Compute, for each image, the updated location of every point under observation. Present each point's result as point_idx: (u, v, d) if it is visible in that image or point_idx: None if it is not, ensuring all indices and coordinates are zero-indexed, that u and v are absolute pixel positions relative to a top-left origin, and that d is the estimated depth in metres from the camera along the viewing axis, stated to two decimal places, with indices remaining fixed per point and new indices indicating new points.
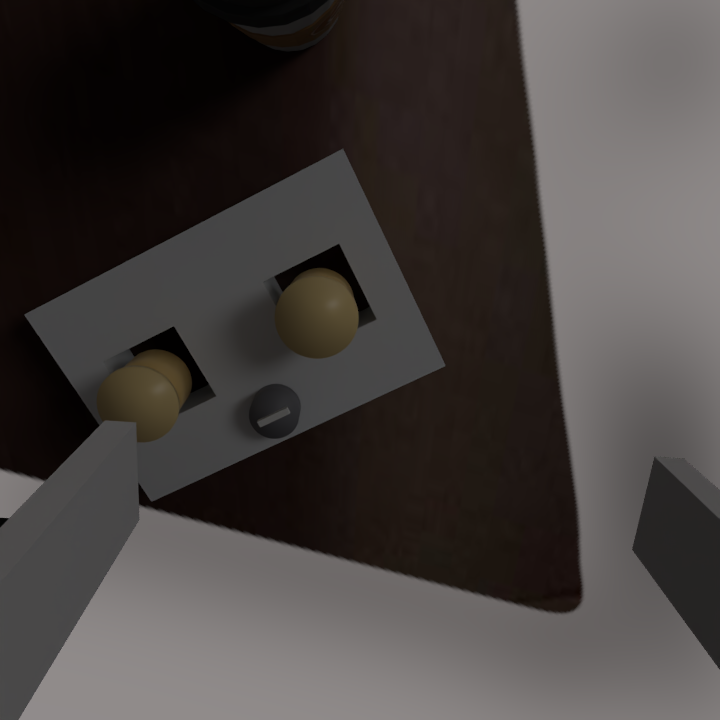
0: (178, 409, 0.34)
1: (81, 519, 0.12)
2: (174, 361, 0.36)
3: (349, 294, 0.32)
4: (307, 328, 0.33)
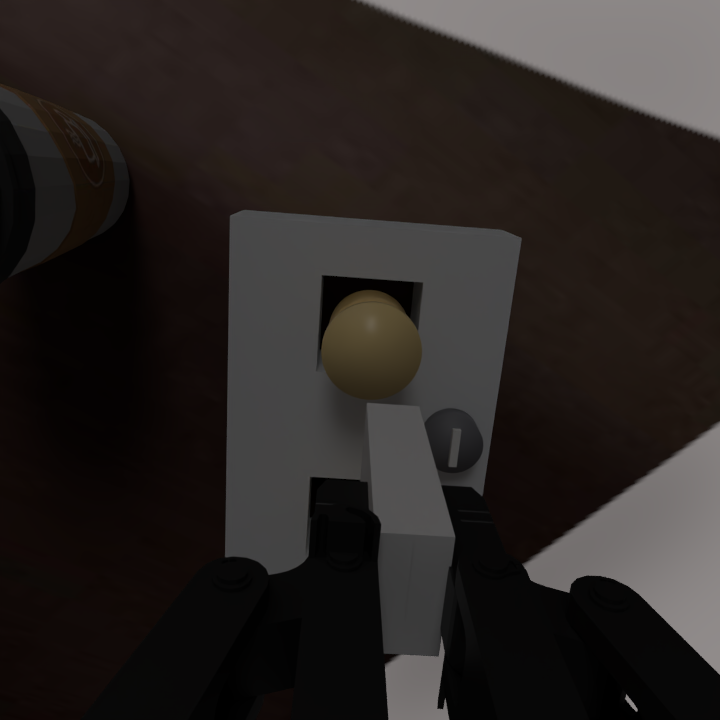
0: None
1: None
2: None
3: (366, 304, 0.26)
4: (376, 367, 0.27)
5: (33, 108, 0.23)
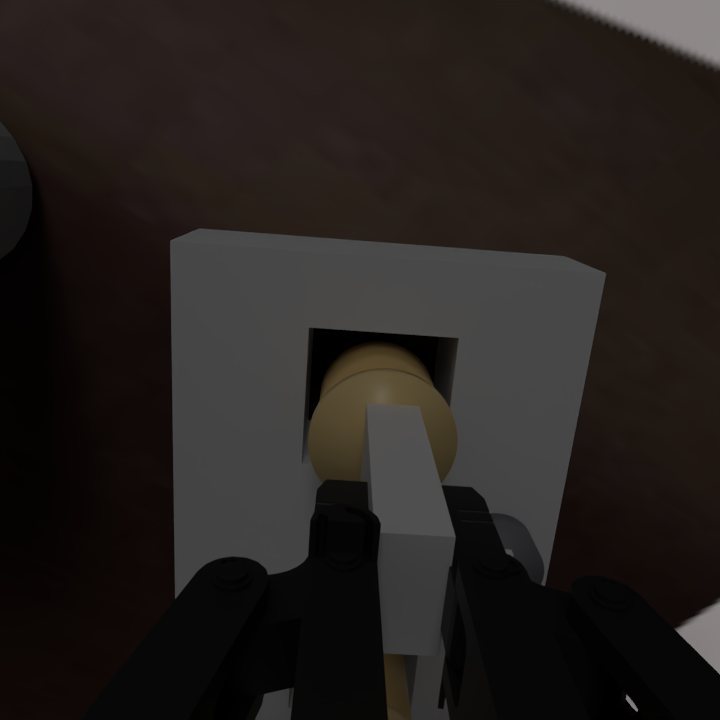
0: (396, 715, 0.20)
1: None
2: None
3: (375, 374, 0.18)
4: None
5: None
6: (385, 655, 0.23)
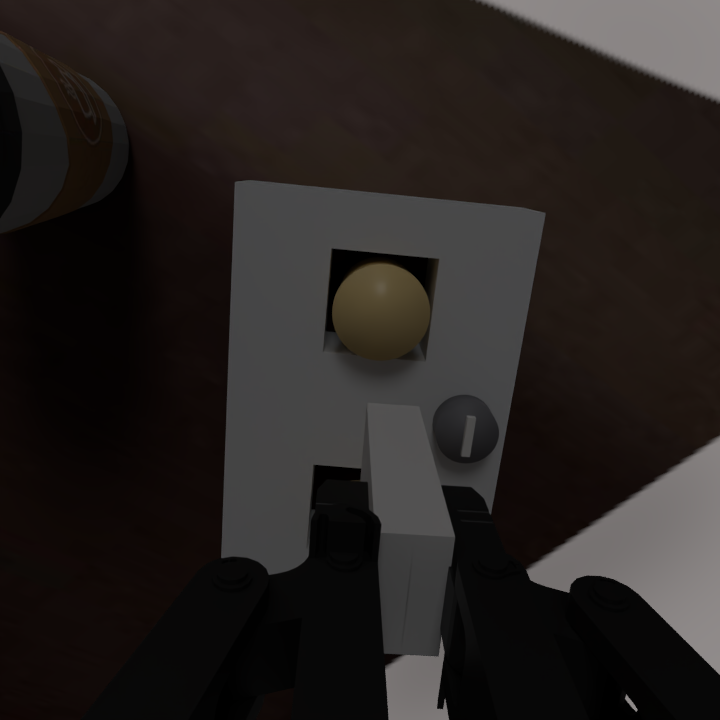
0: None
1: None
2: None
3: (377, 266, 0.27)
4: (385, 328, 0.28)
5: (24, 51, 0.21)
6: None
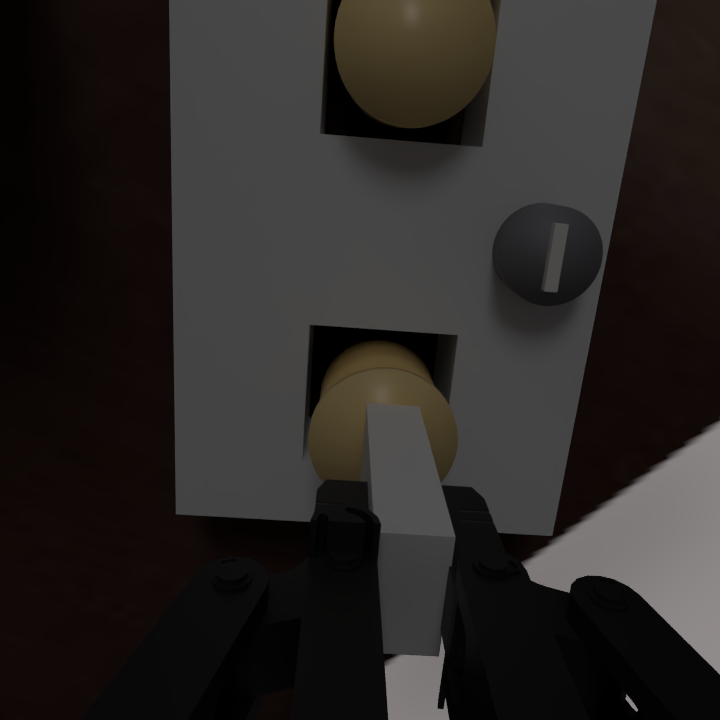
0: (430, 385, 0.18)
1: None
2: (359, 349, 0.21)
3: None
4: (421, 68, 0.17)
5: None
6: (413, 359, 0.20)
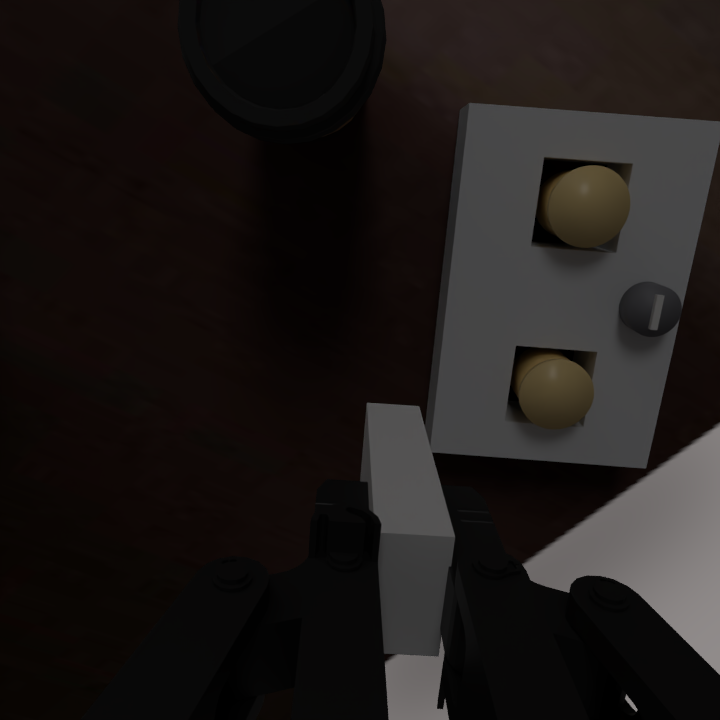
0: (581, 367, 0.37)
1: None
2: (535, 350, 0.40)
3: (589, 166, 0.33)
4: (592, 220, 0.34)
5: None
6: (564, 356, 0.39)
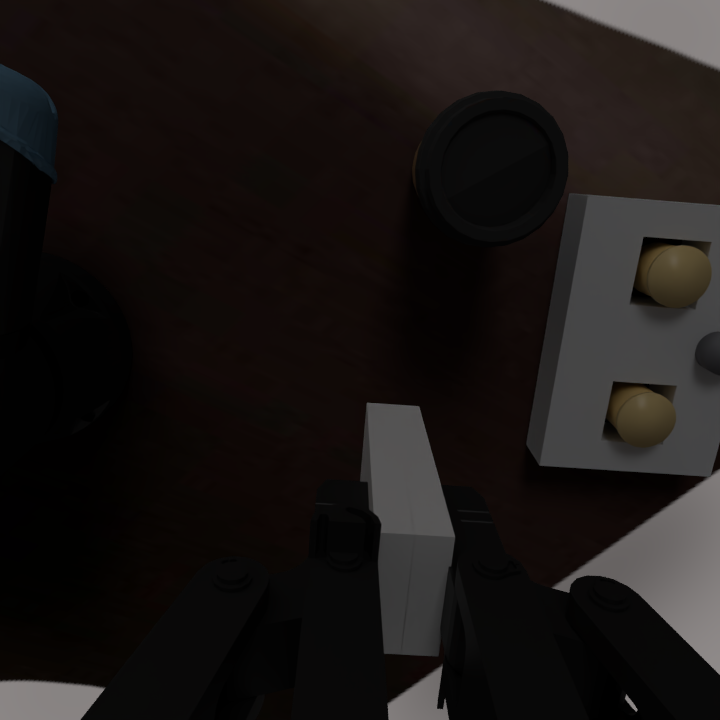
0: (667, 399, 0.47)
1: None
2: (624, 383, 0.49)
3: (681, 246, 0.43)
4: (681, 287, 0.44)
5: None
6: (648, 388, 0.49)
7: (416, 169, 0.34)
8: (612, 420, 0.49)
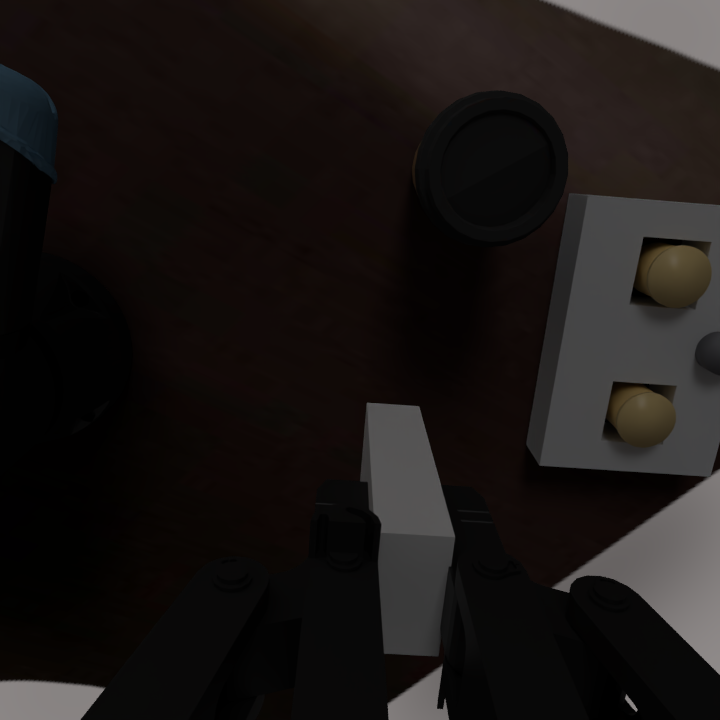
0: (667, 399, 0.47)
1: None
2: (624, 383, 0.49)
3: (681, 246, 0.43)
4: (681, 287, 0.44)
5: None
6: (647, 388, 0.49)
7: (416, 169, 0.34)
8: (612, 420, 0.49)
